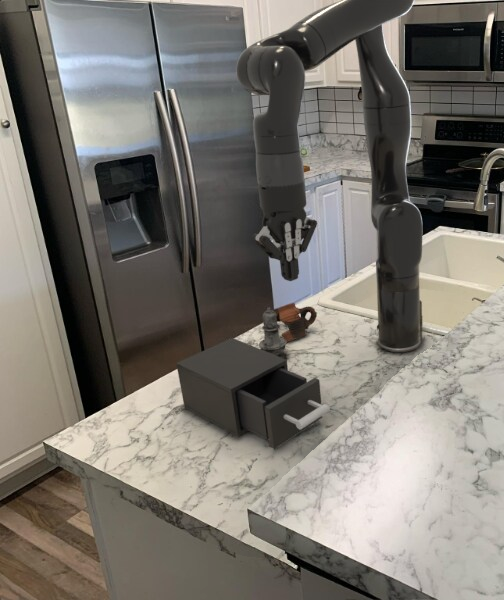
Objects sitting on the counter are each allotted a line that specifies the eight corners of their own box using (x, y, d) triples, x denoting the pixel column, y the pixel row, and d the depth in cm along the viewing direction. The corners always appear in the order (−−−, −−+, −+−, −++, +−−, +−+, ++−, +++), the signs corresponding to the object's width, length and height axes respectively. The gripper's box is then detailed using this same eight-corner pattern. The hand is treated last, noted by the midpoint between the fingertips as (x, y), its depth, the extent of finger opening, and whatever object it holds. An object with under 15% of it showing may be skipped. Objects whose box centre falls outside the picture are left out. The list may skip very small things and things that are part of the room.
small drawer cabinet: (291, 404, 115) (286, 359, 111) (237, 437, 105) (230, 389, 102) (238, 380, 123) (232, 337, 120) (184, 408, 114) (176, 363, 111)
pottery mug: (272, 348, 137) (259, 314, 137) (275, 347, 146) (263, 315, 147) (323, 328, 139) (309, 294, 139) (322, 329, 148) (310, 297, 148)
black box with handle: (341, 426, 106) (338, 387, 103) (293, 459, 98) (288, 418, 95) (268, 392, 117) (263, 356, 114) (219, 420, 109) (213, 382, 106)
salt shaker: (282, 365, 129) (276, 313, 124) (256, 363, 130) (249, 311, 125) (292, 352, 134) (287, 302, 129) (266, 350, 135) (261, 300, 130)
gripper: (294, 170, 106) (303, 264, 112) (233, 184, 96) (246, 286, 103) (326, 174, 101) (332, 272, 108) (265, 189, 92) (276, 296, 99)
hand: (290, 279), depth 105 cm, fingers closed
